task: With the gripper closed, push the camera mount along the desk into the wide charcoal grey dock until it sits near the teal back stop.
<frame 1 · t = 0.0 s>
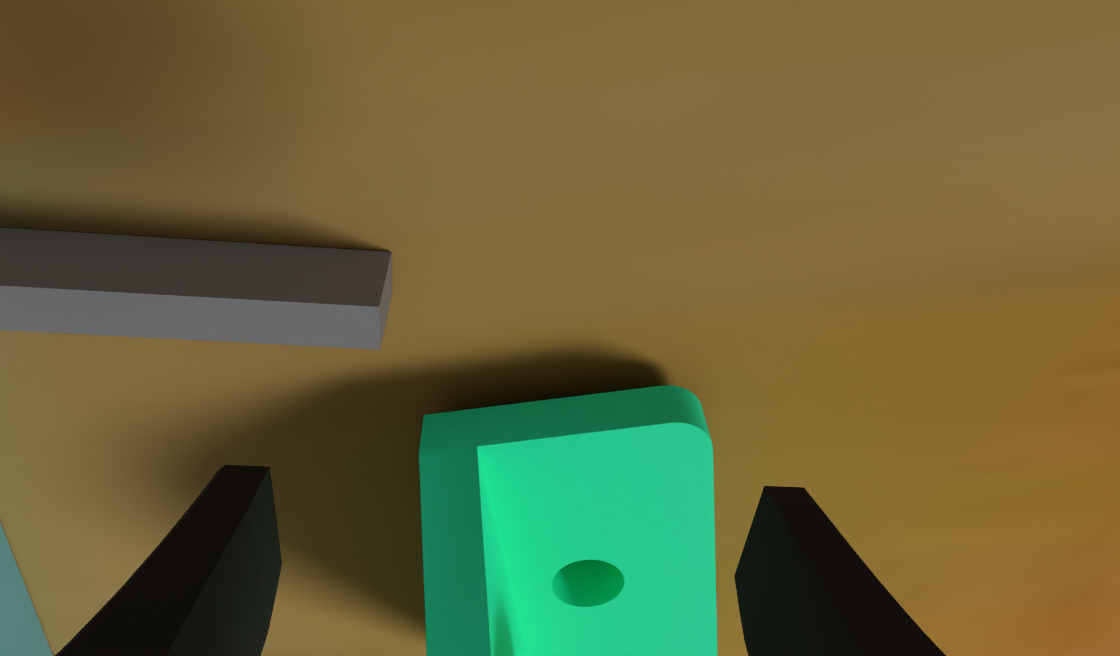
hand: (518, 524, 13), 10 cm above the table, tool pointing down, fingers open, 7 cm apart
dock: (198, 510, 26), on the table
camera mount: (581, 513, 28), on the table
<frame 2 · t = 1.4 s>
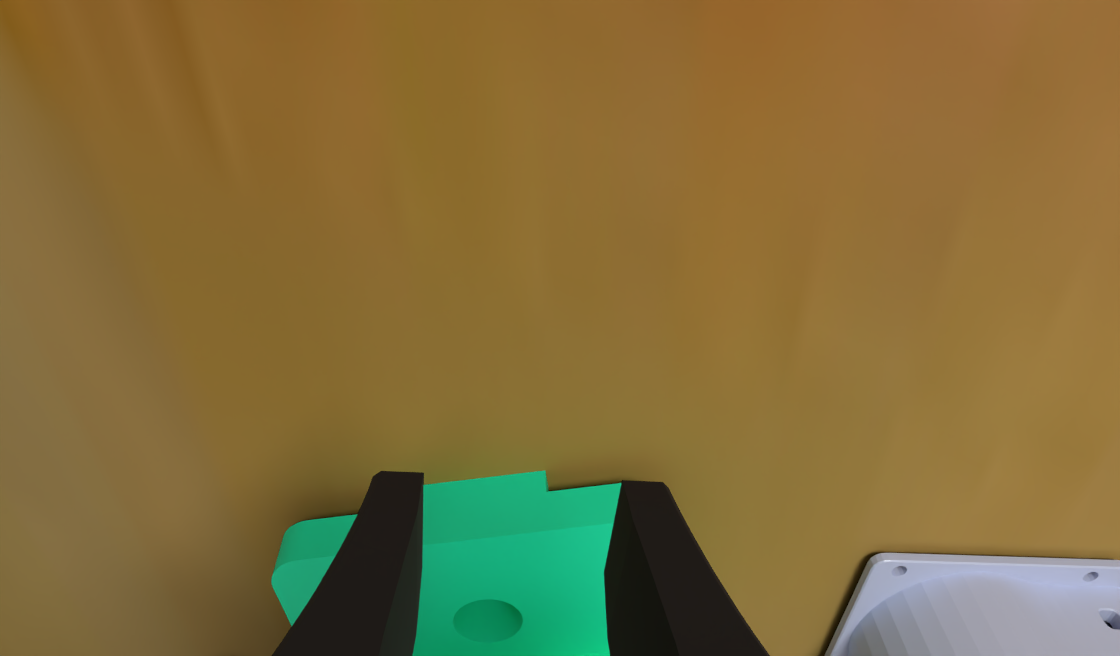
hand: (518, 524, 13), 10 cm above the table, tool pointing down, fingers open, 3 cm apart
camera mount: (489, 550, 29), on the table
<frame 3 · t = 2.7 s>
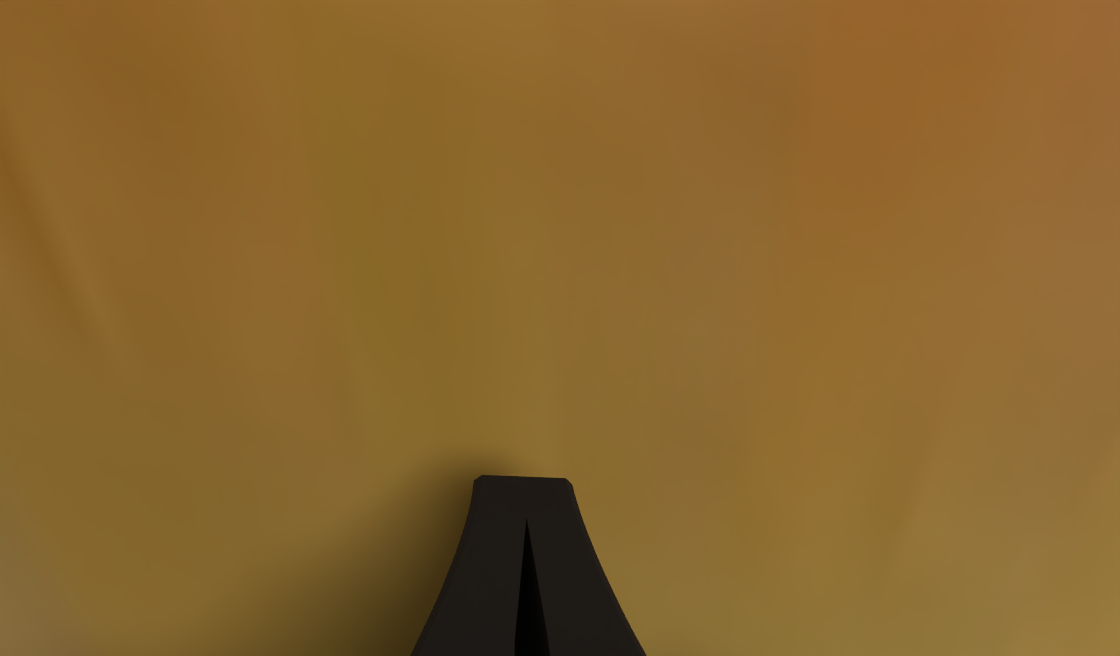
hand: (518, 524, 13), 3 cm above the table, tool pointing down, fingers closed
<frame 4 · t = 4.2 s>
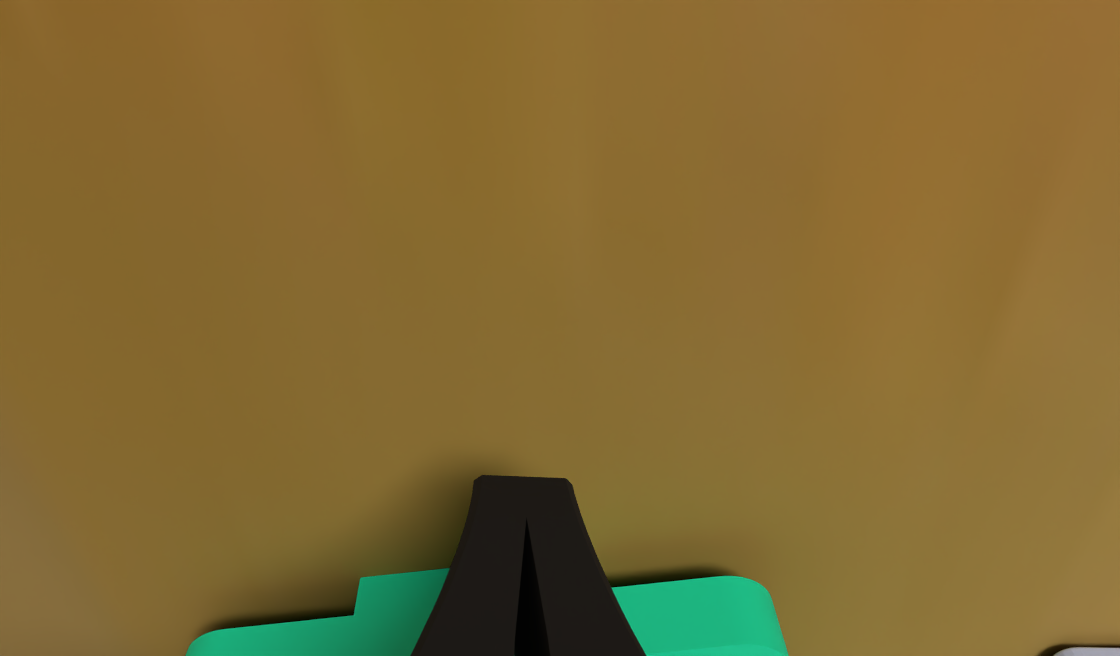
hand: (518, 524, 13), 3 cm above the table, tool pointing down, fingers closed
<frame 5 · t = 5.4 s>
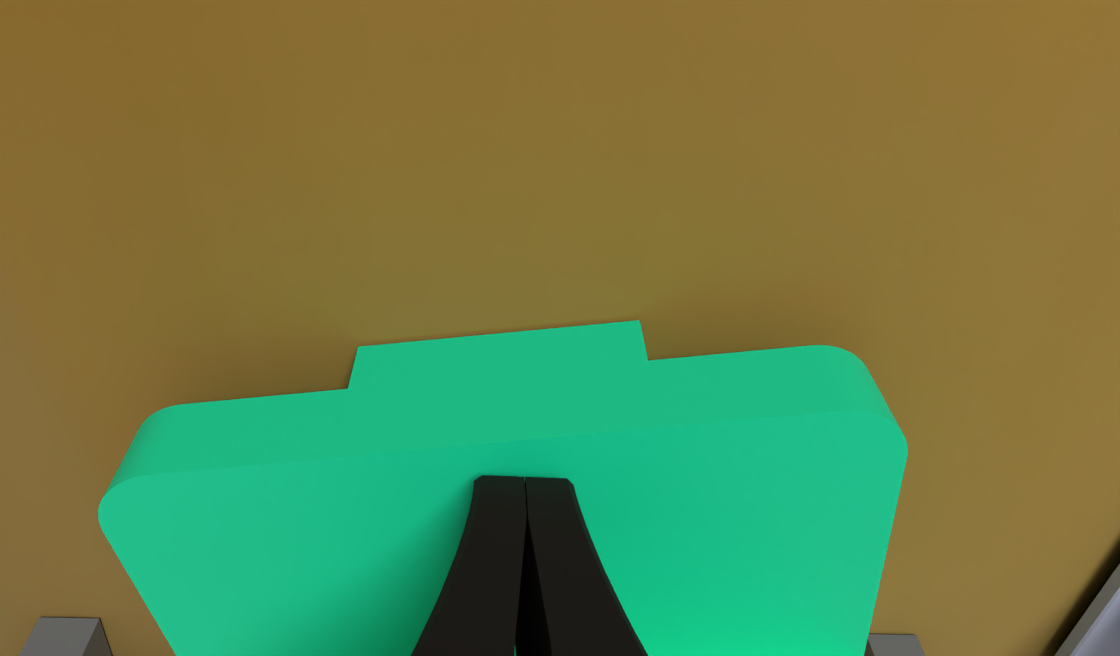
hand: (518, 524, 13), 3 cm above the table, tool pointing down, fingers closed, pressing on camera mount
camera mount: (521, 485, 17), on the table, touching gripper
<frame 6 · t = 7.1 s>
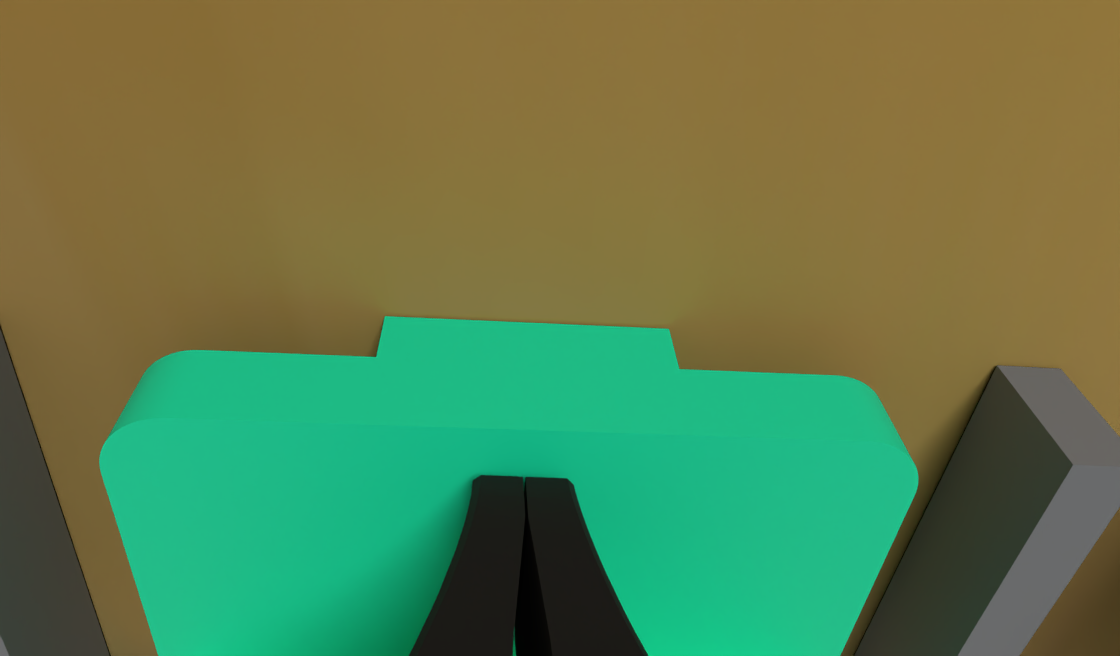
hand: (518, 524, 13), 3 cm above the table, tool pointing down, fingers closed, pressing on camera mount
dock: (502, 574, 18), on the table
camera mount: (514, 478, 16), on the table, touching gripper
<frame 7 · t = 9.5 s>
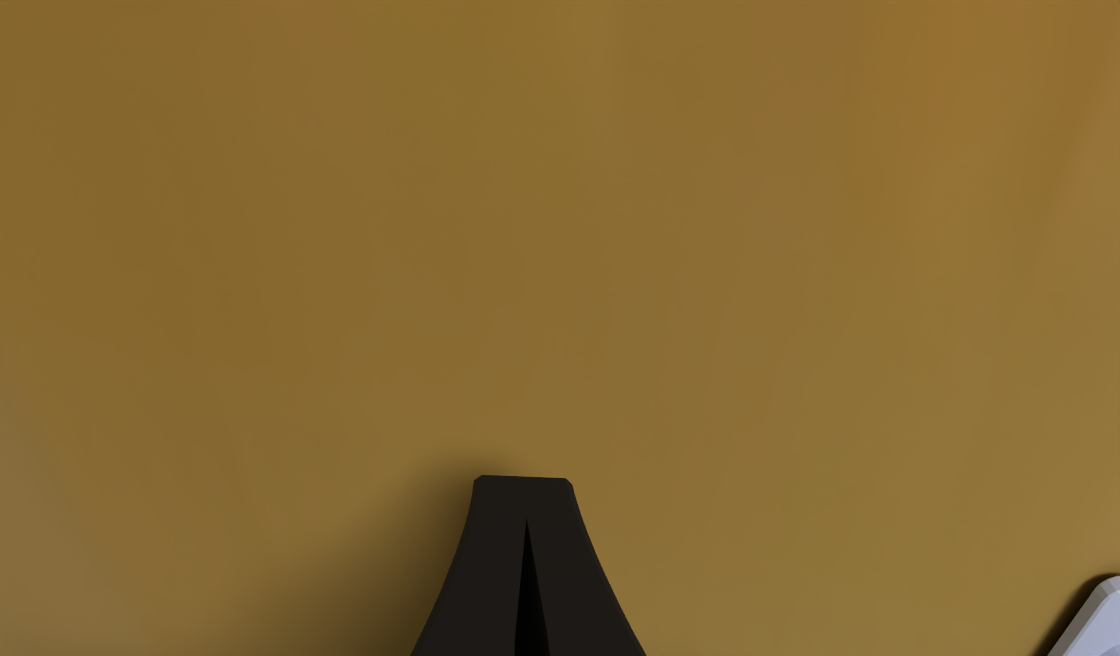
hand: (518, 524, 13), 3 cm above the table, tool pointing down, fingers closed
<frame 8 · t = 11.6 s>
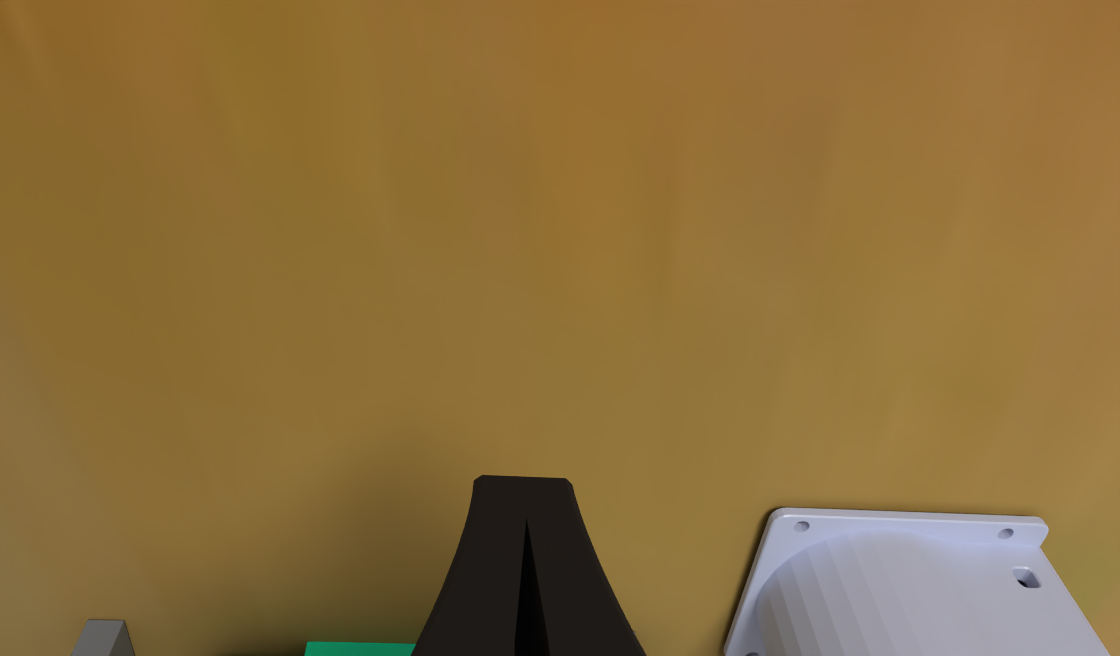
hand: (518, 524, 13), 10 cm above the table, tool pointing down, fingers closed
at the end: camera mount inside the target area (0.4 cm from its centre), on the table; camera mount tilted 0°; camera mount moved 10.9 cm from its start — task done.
